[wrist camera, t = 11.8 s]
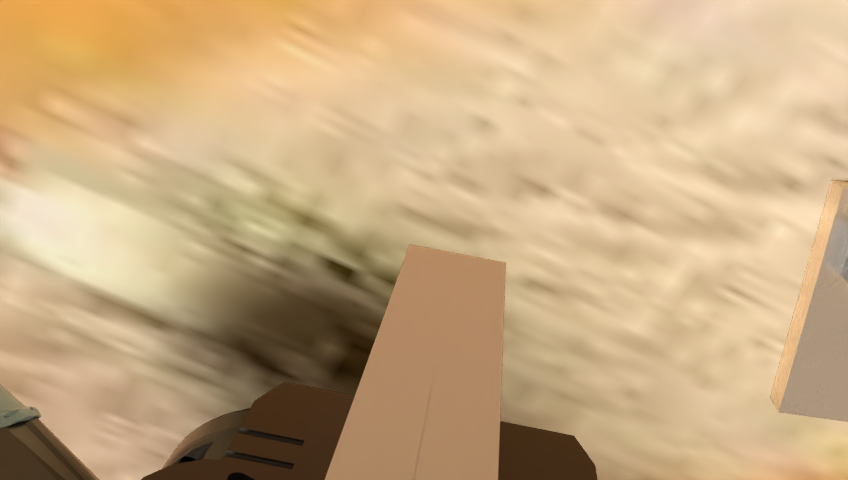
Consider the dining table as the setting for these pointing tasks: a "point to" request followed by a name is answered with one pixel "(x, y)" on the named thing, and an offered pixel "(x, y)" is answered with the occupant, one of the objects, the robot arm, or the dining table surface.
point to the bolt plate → (820, 323)
